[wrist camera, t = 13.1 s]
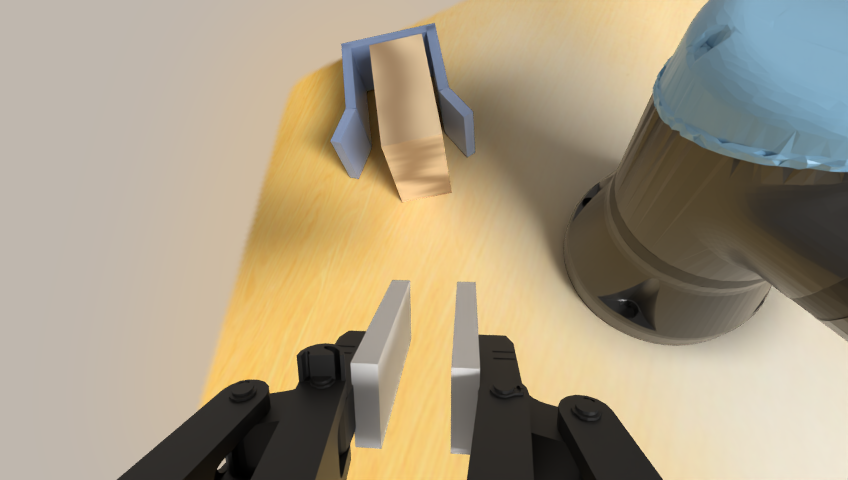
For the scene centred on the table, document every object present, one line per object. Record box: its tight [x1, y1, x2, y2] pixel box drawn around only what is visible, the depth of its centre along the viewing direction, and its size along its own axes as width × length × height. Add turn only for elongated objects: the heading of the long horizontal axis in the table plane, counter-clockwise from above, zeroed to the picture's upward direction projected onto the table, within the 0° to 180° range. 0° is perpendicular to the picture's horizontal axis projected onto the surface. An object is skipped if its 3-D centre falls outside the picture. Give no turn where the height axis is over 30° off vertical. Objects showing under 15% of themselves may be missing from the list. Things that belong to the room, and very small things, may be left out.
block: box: [369, 34, 452, 202], centre depth 40 cm, size 5×12×9 cm, turn 8°
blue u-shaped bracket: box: [331, 23, 475, 179], centre depth 43 cm, size 13×13×6 cm
